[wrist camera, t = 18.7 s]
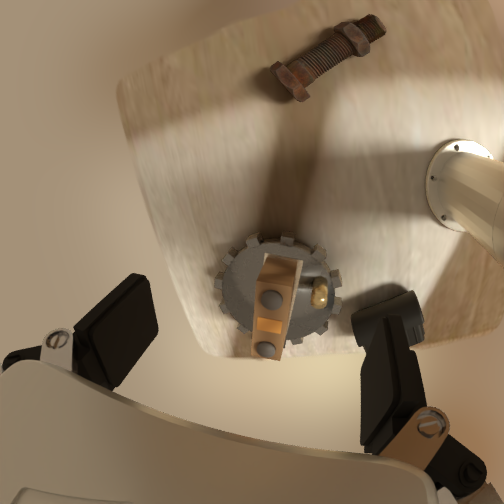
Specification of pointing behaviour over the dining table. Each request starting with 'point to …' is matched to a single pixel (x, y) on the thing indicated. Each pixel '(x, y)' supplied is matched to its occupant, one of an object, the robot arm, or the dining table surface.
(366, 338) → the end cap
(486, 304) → the dining table surface
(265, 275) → the tan block with disc
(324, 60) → the bolt
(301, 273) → the sprocket
